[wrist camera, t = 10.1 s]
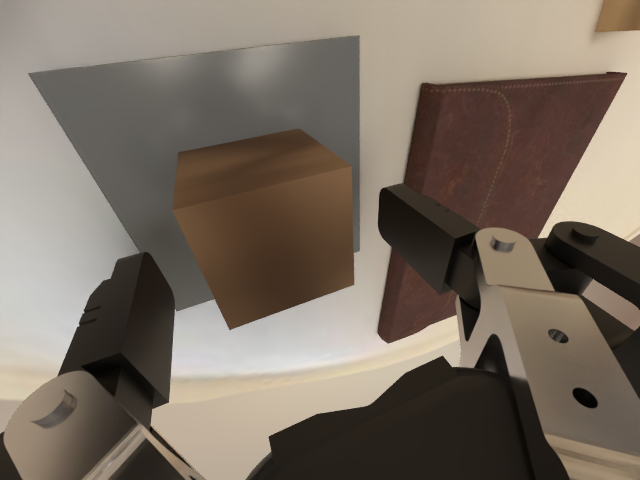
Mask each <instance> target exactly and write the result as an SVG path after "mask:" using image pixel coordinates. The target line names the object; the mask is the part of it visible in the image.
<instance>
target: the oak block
mask: <svg viewBox="0 0 640 480" xmlns="http://www.w3.org/2000/svg"><path fill="white" fill-rule="evenodd" d="M629 30H640V0H604V3H603V7H602V10H601V14H600V17H599V20H598V24H597V27H596V30H595V32H605V31H629Z"/></svg>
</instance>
